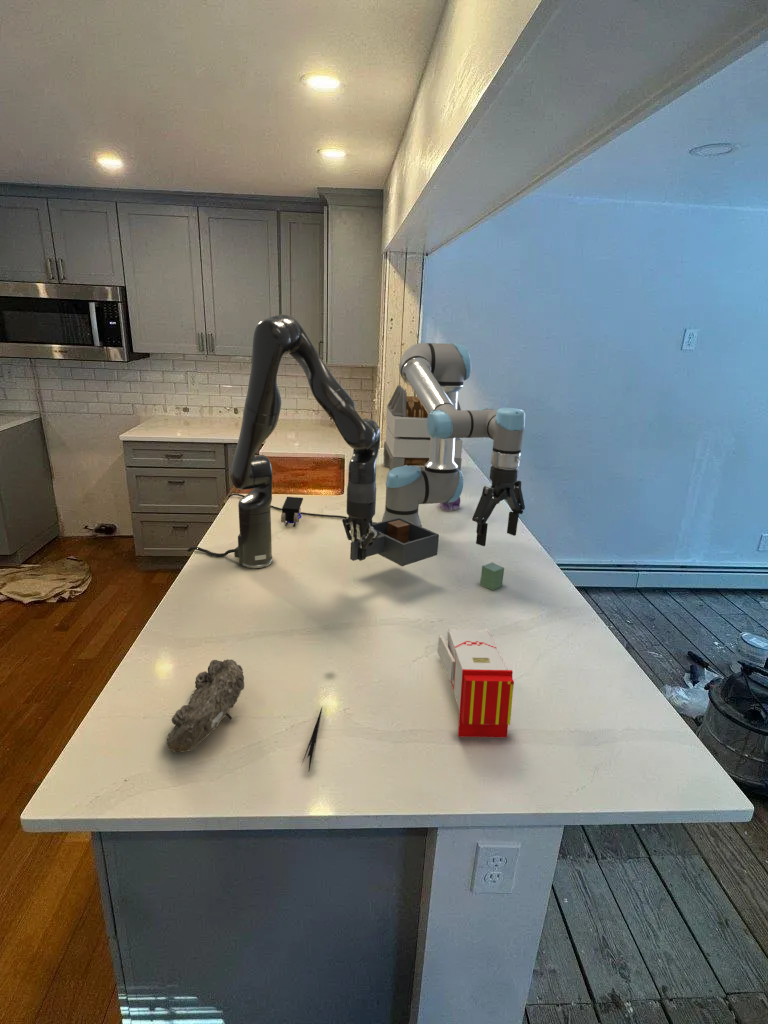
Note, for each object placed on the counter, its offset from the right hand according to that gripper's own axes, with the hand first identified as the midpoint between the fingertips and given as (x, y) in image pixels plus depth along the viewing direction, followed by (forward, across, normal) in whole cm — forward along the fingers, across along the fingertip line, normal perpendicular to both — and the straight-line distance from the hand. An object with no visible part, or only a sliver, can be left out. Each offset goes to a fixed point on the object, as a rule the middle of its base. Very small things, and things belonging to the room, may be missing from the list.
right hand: (496, 539), depth 160 cm
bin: (+5, -25, +18) cm, 32 cm away
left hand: (+3, -35, +18) cm, 39 cm away
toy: (+15, -42, -29) cm, 53 cm away
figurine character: (+14, -20, +76) cm, 80 cm away
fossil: (+15, -87, -4) cm, 89 cm away
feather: (+15, -72, -17) cm, 75 cm away
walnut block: (+4, -18, +22) cm, 28 cm away
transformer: (+14, +65, +98) cm, 119 cm away
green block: (+15, 0, 0) cm, 15 cm away
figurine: (+14, +40, +54) cm, 69 cm away
